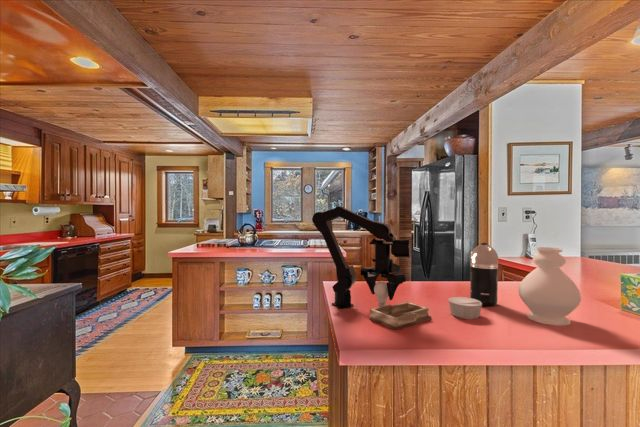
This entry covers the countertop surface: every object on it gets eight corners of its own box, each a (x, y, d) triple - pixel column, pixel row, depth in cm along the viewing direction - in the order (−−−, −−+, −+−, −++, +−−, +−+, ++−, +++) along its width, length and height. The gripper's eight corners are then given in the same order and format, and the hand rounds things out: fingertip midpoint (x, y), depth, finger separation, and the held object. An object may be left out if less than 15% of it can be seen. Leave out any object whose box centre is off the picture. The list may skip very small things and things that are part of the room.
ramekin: (476, 323, 110) (476, 307, 109) (443, 315, 117) (443, 301, 117) (485, 315, 118) (486, 300, 118) (454, 308, 125) (455, 295, 125)
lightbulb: (390, 313, 119) (390, 283, 119) (373, 312, 120) (373, 282, 120) (390, 308, 125) (390, 279, 125) (373, 306, 127) (374, 279, 127)
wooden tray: (369, 319, 113) (369, 309, 113) (404, 310, 123) (404, 301, 123) (395, 329, 103) (395, 319, 103) (431, 319, 113) (431, 309, 113)
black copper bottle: (470, 305, 129) (471, 243, 129) (469, 298, 139) (469, 240, 138) (499, 308, 125) (500, 244, 125) (496, 301, 135) (496, 241, 134)
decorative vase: (566, 332, 101) (567, 253, 100) (508, 316, 116) (509, 247, 115) (589, 322, 110) (590, 249, 110) (532, 308, 125) (533, 244, 125)
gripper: (416, 257, 119) (415, 299, 120) (380, 251, 135) (379, 289, 135) (395, 260, 113) (394, 304, 113) (359, 254, 129) (359, 292, 129)
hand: (381, 297), depth 123 cm, fingers open, 9 cm apart
